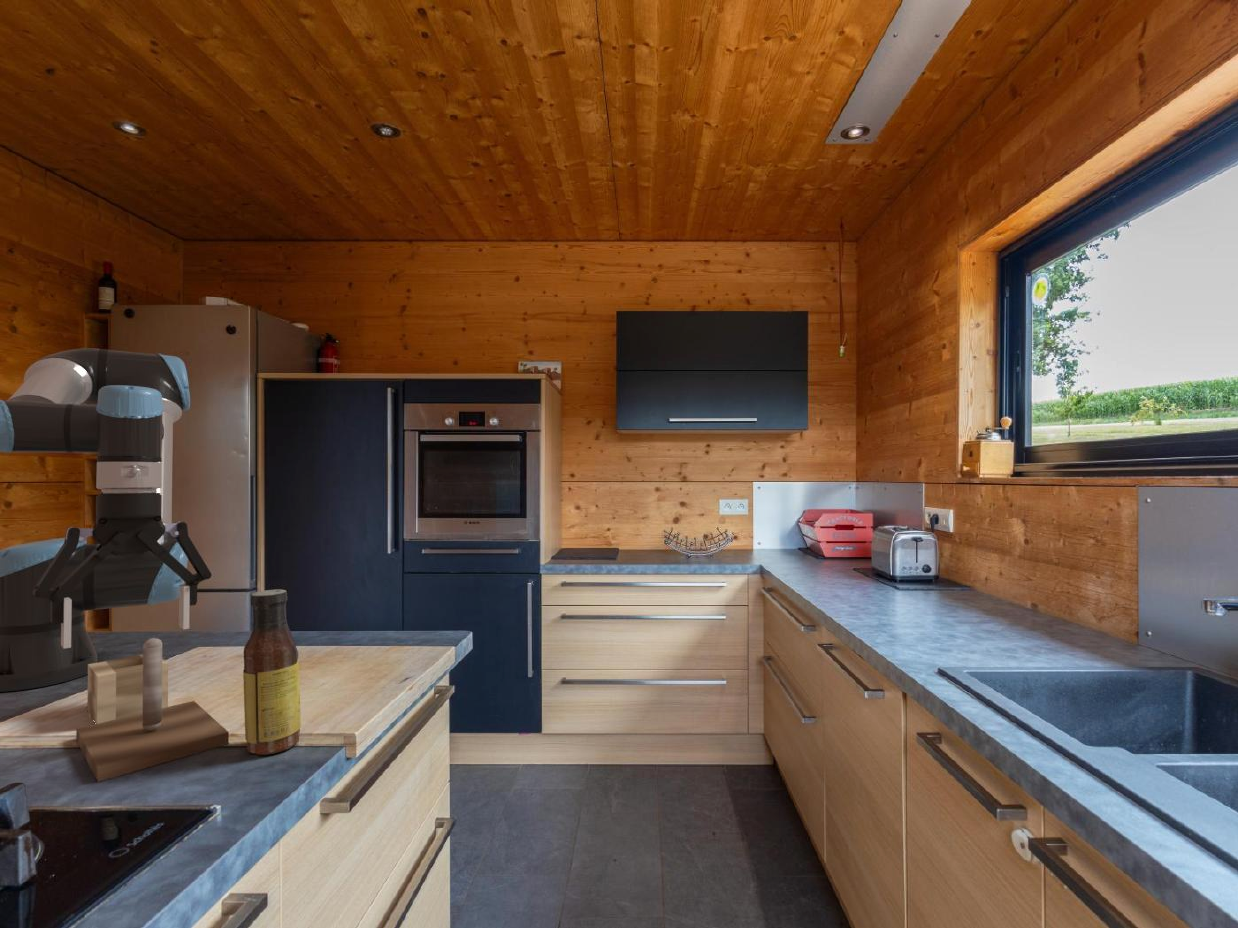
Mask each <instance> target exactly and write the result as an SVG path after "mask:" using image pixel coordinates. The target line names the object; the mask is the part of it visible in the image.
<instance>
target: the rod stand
mask: <svg viewBox="0 0 1238 928" xmlns="http://www.w3.org/2000/svg"><path fill="white" fill-rule="evenodd" d="M142 654H143V713H140V714H136V715H132V716H128V717H124V718H119V719H115V720H111V721H107V722H103V723H98V724H94V723H93V724H90V725H87V726H82V727H78V728H76V730H75V731H76V732H75V733H76V736H75V737H76V738H75V739H77V741H76V742H77V744H78V747H79V748H80V750H81V752H82V754H83V756H84V758H85V760H86V762H87V764H88V766H89V768H90V769H91V771H92V774H93V776H94V778H95V780H97V783H100V782H103V781H106V780H109V779H113V778H117V777H119V776H122V775H127V774H130V773H133V772H137V771H141V770H143V769H148V768H150V767H153V766H157V765H160V764H161V765H162V764H163V763H164V764H165V763H167V762H171V761H174V760H177V759H181V758H185V757H188V756H191V755H195V754H197V753H203V752H205V751H209V750H212V749H215V748H219V747H222V746H226V745H229V735H230V734H229V733H230V732H229V730H227V729H226V728H225V727H224V726H223V725H222V724H220V723H219V722H218V721H216V719H215V718H214V717H212V715H210V714H209V713H208V712H207V711H206V710H205V709H204V708H202V707H201V706H200V705H199V704H198V703H197V702H196V701H195V700H191V701H188V702H187V701H186V702H183V703H179V704H174V705H170V706H168V707H166V708H162V658H163V642H162V640H161V639H160V638H155V637H151V638H149V639H147V640H146V641H145V642H144V643H143V646H142Z"/></svg>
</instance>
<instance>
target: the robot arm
mask: <svg viewBox="0 0 1238 928" xmlns="http://www.w3.org/2000/svg"><path fill="white" fill-rule="evenodd" d="M188 378H189V377H188V372H187V368H186V364H185V362H184V361H183V359H181V358H180V357H179V356H173V355H167V354H166V355H165V354H162V353H155V354H153V353H144V352H135V351H134V352H133V351H124V350H123V351H122V350H113V349H103V348H94V347H92V348H91V347H89V348H88V347H87V348H86V347H82V348H77V349H76V348H75V349H74V348H73V349H69V350H63V351H59V352H56V353H51V354H49V355H46V356H44V357H42V358H39V359H38V360H36V361H34V362H33V363H31V365H30V366H29V367H28V368H27V369H26V371H25V373H24V375H23V384H22V385H20V386H19V388H17V390H16V391H15V392H14V393H13V394H12V395H11V396H10V397H9V398H8V400H2V399H0V453H3V454H10V453H29V454H30V453H40V454H41V453H42V454H43V453H48V454H49V453H50V454H53V453H54V454H55V453H56V454H57V453H58V454H59V453H60V454H61V453H63V454H64V453H65V454H66V453H67V454H70V453H71V454H97V456H96V482H95V484H96V485H95V487H96V489H97V490H101V492H100V493H98V494H97V495H96V496H95V498H96V499H95V523H94V525H93V527H92V528H91V527H90V528H88V527H87V528H86V527H85V528H84V527H77V526H76V527H75V526H69V527H67V528H66V530H65V536H64V537H60V538H53V539H46V540H40V541H34V542H27V543H23V544H22V543H21V544H17V545H16V544H15V545H12V546H8V547H6V548H3V549H0V692H2V693H3V692H4V693H5V692H14V691H24V690H31V689H38V688H42V687H47V686H48V687H49V686H51V685H56V684H61V683H64V682H69V681H71V680H75V679H79V678H81V677H84V676H86V675H88V664H92V663H98V654H97V651H96V649H95V647H94V644H93V642H92V639H91V637H90V635H89V633H88V630H87V628H86V623H85V621H86V620H85V617H86V616H85V615H86V611H95V610H104V609H106V610H107V609H115V608H117V609H118V608H127V607H135V606H146V605H147V606H153V605H155V604H161V603H167V602H168V603H169V602H173V601H176V600H178V628H180V629H182V630H188V629H189V630H190V606H191V607H192V606H196V605H197V602H198V585H199V584H200V583H201V582H203V581H205V580H209V579H211V578H212V575H213V574H212V573H211V571H210V569H209V567H208V566H207V564H206V563H205V561H204V559H203V557H202V555H200V553H199V551H198V549H197V548H196V546H195V544H194V542H193V541H192V539H191V537H190V536H189V530H188V524H187V523H186V522H184V521H179V520H178V521H175V522H173V520H172V519H173V517H172V516H173V515H172V514H173V512H172V511H173V453H174V450H173V449H174V448H173V444H174V443H173V441H174V438H173V437H174V423H175V422H177V421H179V420H180V419H181V417H182V415H183V412H185V411H189V410H190V408H191V395H190V393H191V392H190V388H189V384H190V383H189V379H188ZM88 537H92V538H93V539H94V540H95V541H96V542H97V543H92V544H87V543H88V542H87V538H88ZM188 562H189V563H190V564H191V567H192V568H193V569H194V570H195V571H194V572H196V573H192V572H191V571H190V570H188Z"/></svg>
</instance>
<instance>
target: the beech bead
mask: <svg viewBox="0 0 1238 928" xmlns="http://www.w3.org/2000/svg"><path fill="white" fill-rule="evenodd" d="M86 707H87V708H86V709H87V711H88V712H87V711H86V712H87V714H88V713H89V714H90V716H91V717H90V716H89V717H90V718H92V719H93V720H94V721H95V723H96V724H98V723H103V722H107V721H111V720H115V719H119V718H124V717H128V716H132V715H136V714H140V713H143V653H142V654H137V655H131V656H126V657H122V658H121V657H120V658H115V659H111V660H110V659H109V660H105V661H104V660H103V661H99V662H98V661H97V663H92V664H88V674H87V706H86ZM166 707H169V662H168V661H166V660H165V659H164V658H163V657H162V708H166ZM89 714H88V715H89ZM92 719H91V720H92ZM93 720H92V721H93Z"/></svg>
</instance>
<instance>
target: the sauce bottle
mask: <svg viewBox="0 0 1238 928" xmlns="http://www.w3.org/2000/svg"><path fill="white" fill-rule="evenodd" d="M287 602H288V592H287V590H285V589H276V588H275V589H268V590H267V589H266V590H259V591H256V592H253V593H252V594H251V595H250V605H251V607H252V616H253V617H252V618H253V620H252V631H251V634H250V636H249V638H248V640H247V642H246V644H245V646H244V648H243V670H242V671H243V672H242V673H243V674H242V675H243V676H242V677H243V702H244V704H243V705H244V706H243V708H244V731H245V732H244V733H245V736H244V737H245V739H244V740H245V741H246V750H247V752H248V753H250V754H254V755H258V756H266V755H267V756H268V755H273V754H277V753H278V754H279V753H281V752H285V751H287V750H289V749H291V748H292V747H294V746H295V745H297V744H298V742H300V731H301V727H302V725H301V724H302V722H301V721H302V720H301V718H302V716H301V715H302V714H301V713H302V712H301V692H300V691H301V690H300V687H301V686H300V684H301V683H300V664H299V663H300V661H299V651H298V648H297V646H296V643H295V641H294V638H293V635H292V632H291V629H290V627H289V624H288V620H287Z"/></svg>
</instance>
